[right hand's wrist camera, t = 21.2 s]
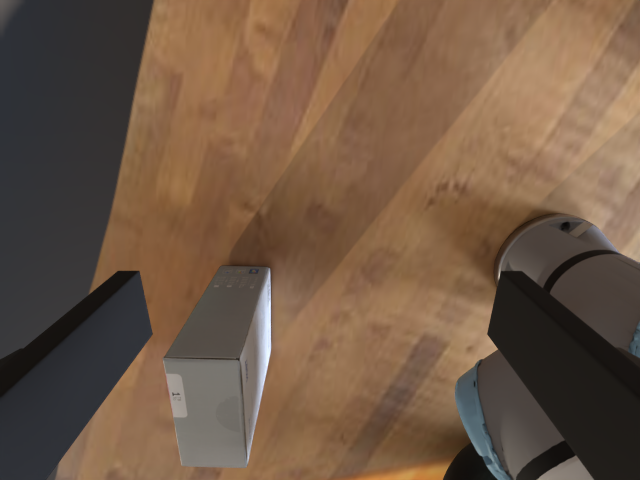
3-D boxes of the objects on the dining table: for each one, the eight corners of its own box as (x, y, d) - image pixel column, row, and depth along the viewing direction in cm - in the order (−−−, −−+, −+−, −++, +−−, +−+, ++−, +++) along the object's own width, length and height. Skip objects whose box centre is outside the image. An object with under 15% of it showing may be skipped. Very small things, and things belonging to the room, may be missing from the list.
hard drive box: (219, 264, 51) (161, 354, 32) (270, 265, 51) (242, 357, 32) (225, 349, 57) (179, 469, 38) (272, 351, 57) (249, 470, 38)
